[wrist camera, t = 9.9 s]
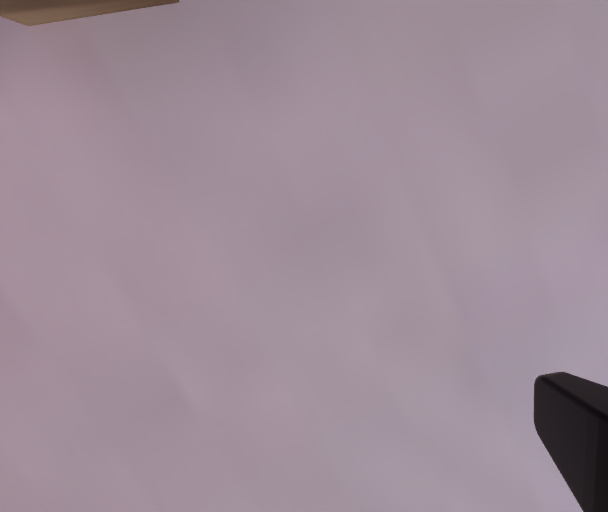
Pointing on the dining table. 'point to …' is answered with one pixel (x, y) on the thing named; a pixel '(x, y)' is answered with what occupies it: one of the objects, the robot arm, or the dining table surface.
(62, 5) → the rectangular block
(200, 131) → the dining table surface
